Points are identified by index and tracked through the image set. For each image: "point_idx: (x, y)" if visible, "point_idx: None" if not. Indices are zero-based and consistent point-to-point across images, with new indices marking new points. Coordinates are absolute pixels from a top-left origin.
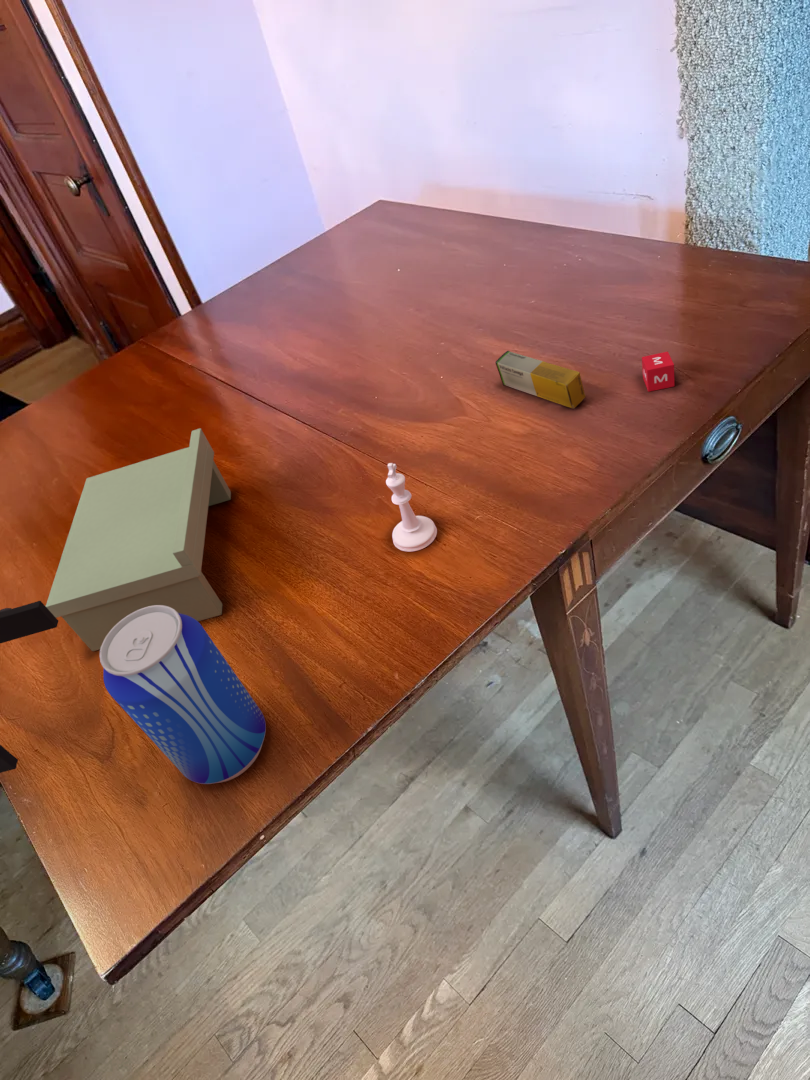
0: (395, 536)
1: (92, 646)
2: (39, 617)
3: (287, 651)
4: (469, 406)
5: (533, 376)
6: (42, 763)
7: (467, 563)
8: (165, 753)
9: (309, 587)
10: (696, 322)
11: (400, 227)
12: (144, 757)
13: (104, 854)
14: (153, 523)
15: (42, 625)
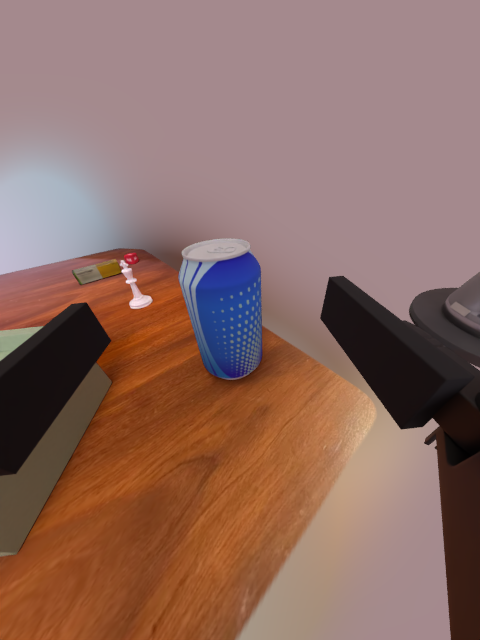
0: (138, 304)
1: (14, 543)
2: (91, 326)
3: (177, 340)
4: (78, 292)
5: (98, 267)
6: (186, 593)
7: (172, 291)
8: (256, 341)
9: (136, 336)
10: (116, 257)
11: None
12: (224, 418)
13: (309, 432)
14: None
15: (98, 342)
